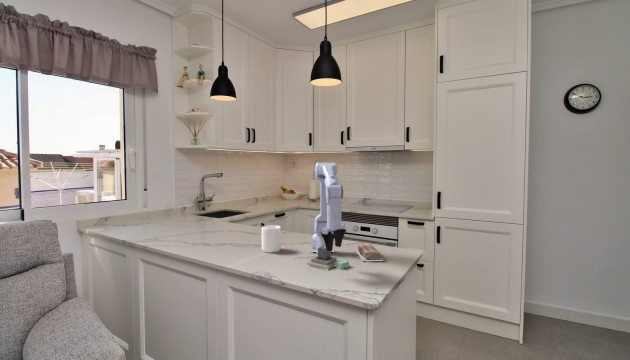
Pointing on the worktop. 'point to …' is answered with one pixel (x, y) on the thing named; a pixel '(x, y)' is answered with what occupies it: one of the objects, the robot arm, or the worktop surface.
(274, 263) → the worktop surface
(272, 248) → the mug
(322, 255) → the block
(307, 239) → the worktop surface
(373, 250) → the packaged product
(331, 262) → the plate
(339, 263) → the cable plug
